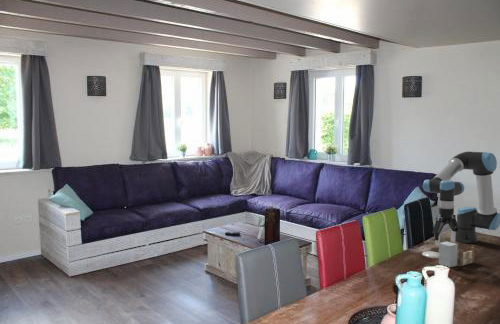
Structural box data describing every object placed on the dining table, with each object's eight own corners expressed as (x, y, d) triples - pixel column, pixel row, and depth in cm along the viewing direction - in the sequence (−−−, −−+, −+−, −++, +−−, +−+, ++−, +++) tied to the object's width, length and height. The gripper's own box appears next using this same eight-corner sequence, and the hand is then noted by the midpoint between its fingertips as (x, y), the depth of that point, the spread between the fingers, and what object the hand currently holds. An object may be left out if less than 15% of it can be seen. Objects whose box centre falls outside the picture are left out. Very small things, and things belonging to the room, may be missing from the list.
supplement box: (457, 265, 252) (458, 244, 251) (449, 267, 249) (449, 246, 247) (446, 262, 259) (447, 241, 257) (438, 264, 255) (438, 242, 254)
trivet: (430, 251, 280) (430, 250, 279) (447, 256, 269) (447, 255, 269) (418, 254, 274) (418, 253, 274) (434, 259, 263) (434, 258, 263)
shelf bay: (454, 256, 268) (454, 242, 267) (474, 262, 257) (474, 247, 256) (441, 259, 262) (442, 245, 262) (461, 266, 251) (461, 250, 250)
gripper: (454, 204, 260) (453, 239, 262) (426, 209, 248) (425, 245, 250) (466, 206, 253) (464, 242, 256) (437, 211, 241) (436, 248, 243)
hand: (445, 243), depth 253 cm, fingers open, 13 cm apart
